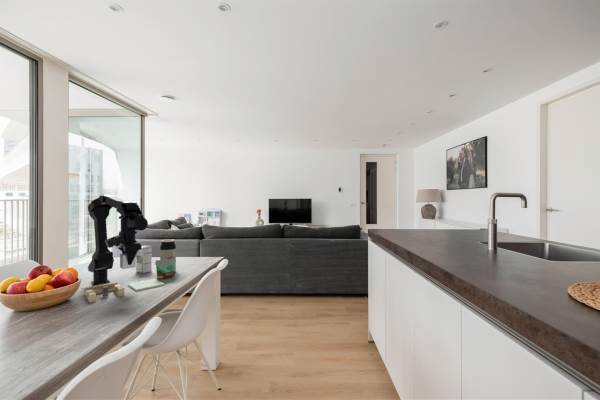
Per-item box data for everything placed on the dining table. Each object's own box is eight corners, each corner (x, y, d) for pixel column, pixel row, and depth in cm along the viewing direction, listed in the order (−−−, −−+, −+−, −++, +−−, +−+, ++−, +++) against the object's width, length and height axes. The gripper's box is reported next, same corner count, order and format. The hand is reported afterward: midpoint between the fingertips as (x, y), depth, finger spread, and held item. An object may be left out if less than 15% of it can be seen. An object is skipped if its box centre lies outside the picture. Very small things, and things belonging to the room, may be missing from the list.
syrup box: (152, 270, 159) (152, 245, 159) (142, 273, 154) (142, 247, 154) (145, 269, 162) (145, 244, 162) (135, 272, 156) (135, 246, 156)
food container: (165, 280, 140) (165, 261, 140) (155, 280, 141) (155, 260, 141) (180, 274, 152) (180, 256, 152) (170, 273, 153) (171, 255, 153)
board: (128, 285, 132) (128, 283, 132) (155, 280, 141) (155, 278, 141) (136, 291, 124) (136, 289, 124) (164, 285, 132) (164, 283, 132)
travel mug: (160, 274, 151) (160, 241, 151) (160, 271, 158) (160, 239, 159) (176, 272, 155) (176, 240, 155) (175, 269, 162) (175, 238, 162)
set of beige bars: (83, 294, 119) (83, 285, 119) (116, 288, 128) (116, 279, 128) (89, 302, 110) (89, 292, 110) (124, 295, 119) (124, 285, 119)
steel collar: (120, 267, 125) (120, 253, 125) (132, 265, 128) (132, 252, 128) (122, 269, 121) (122, 255, 121) (135, 267, 125) (135, 253, 125)
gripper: (102, 228, 126) (102, 263, 126) (111, 232, 113) (111, 270, 113) (130, 227, 134) (130, 259, 134) (142, 230, 120) (141, 266, 120)
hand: (127, 263), depth 125 cm, fingers closed on steel collar, 5 cm apart
